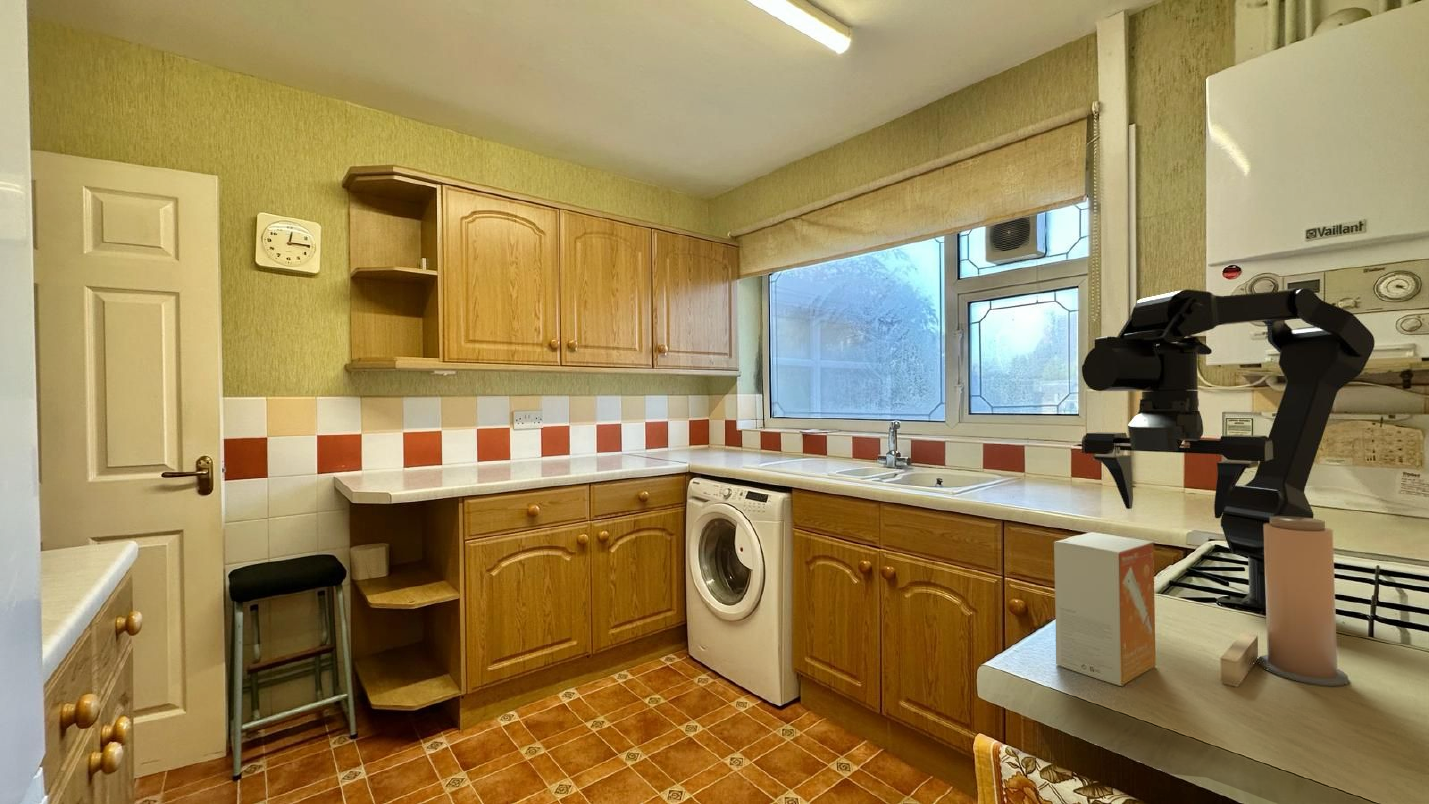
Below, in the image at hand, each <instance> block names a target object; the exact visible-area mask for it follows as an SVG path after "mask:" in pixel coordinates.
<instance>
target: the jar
mask: <svg viewBox="0 0 1429 804" xmlns="http://www.w3.org/2000/svg"><path fill="white" fill-rule="evenodd" d="M1263 530H1264V561H1265V592H1266V609H1265V616H1266V617H1265V618H1266V619H1265V620H1266V622H1265V623H1266V646H1267V647H1266V651H1267V654H1266V655H1268V662H1269V663H1270V664H1271V665H1273V666H1275V667H1277V668H1279V669H1282V670H1284V671H1287V672H1291V673H1294V674H1298V675H1303V676H1308V677H1315V678H1334V677H1336V676H1337V675H1338V672H1337V669H1338V653H1337V652H1338V648H1337V646H1338V645H1337V623H1336V621H1337V620H1336V618H1337V615H1336V613H1337V612H1336V589H1335V588H1336V587H1335V563H1334V562H1335V561H1334V560H1335V558H1334V557H1335V556H1334V534H1333V533H1334V532H1333V530H1332V529H1331V528H1328V527H1326V520H1322V519H1318V518H1314V517H1313V518H1305V517H1294V516H1271V517H1270V523H1265V524H1263Z"/></svg>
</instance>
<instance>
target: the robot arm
mask: <svg viewBox="0 0 1429 804" xmlns="http://www.w3.org/2000/svg"><path fill="white" fill-rule="evenodd" d="M1296 319H1300V320H1302V321H1303V322H1304V323H1305V324H1308V325H1311V326H1305V327H1297V328H1295V329H1293V328H1291V327H1290V326H1289V325H1288V324H1287V322H1286V321H1288V320H1296ZM1255 322H1256V323H1257V322H1263V324H1264V325H1266V327H1267V328H1266V330H1267V341H1268V343H1269V344H1270V345H1271V346H1272V347H1273V348H1274V349H1275V350H1276V351H1277V352H1278V353H1280V354H1279V358H1278V366H1279V368H1280V370H1281V372H1282V374H1283V376H1284V378H1285V381H1286V383H1285V384H1286V385H1285V388H1284V391H1283V394H1282V397H1281V400H1280V402H1279V405H1278V408H1277V411H1276V413H1275V417H1274V420H1273V423H1272V424H1271V428H1270V431H1269V434H1268V436H1267V435H1260V434H1259V435H1253V434H1249V435H1248V434H1245V435H1244V434H1227V435H1226V434H1225V435H1221V436H1220V439H1201V438H1202V436H1203V434H1204V423H1203V418H1202V415H1201V412H1200V410H1199V407H1200V406H1199V405H1200V404H1199V403H1200V401H1199V387H1198V386H1199V384H1198V382H1199V381H1198V379H1199V378H1198V356H1207V355H1210V354H1212V353H1213V350H1212V348H1210V347H1209V346H1208V345H1206V344H1205V343H1203V342H1201V340H1199V337H1197V336H1195V335H1197V334H1201V333H1204V332H1207V331H1210V330H1214V329H1215V328H1217V327H1218V326H1225V325H1236V324H1246V323H1247V324H1248V323H1255ZM1372 333H1373V332H1371V331H1370V330H1369V328H1368V327H1366V326H1365V324H1363V322H1361V321H1360V319H1358V318H1357V316H1356V315H1355V314H1354V313H1352V312H1350V311H1349V310H1346V309H1343V308H1341V307H1338V306H1336V305H1334V304H1332V303H1329V302H1327V301H1324V300H1322V299H1321V298H1320V297H1318V295H1317V294H1316V293H1315V292H1314V291H1313V290H1311V289H1309V288H1305V287H1304V288H1303V287H1294V288H1293V287H1292V288H1288V289H1283V290H1277V291H1266V292H1255V293H1253V292H1252V293H1243V294H1232V295H1231V294H1229V295H1216V294H1213V293H1212V292H1211V291H1208V290H1207V291H1206V290H1199V289H1198V290H1197V289H1191V288H1190V289H1189V288H1188V289H1187V288H1186V289H1182V290H1176V291H1173V292H1168V293H1163V294H1158V295H1153V296H1150V297H1145V298H1141V299H1139V300H1137V301H1136V303H1135V305H1134V306H1133V308H1132V312H1131V314H1130V316H1129V318H1128V319H1127V320H1126V322H1125V324H1124V325H1123V327H1122V328H1121V330H1120V332H1118V334H1117V336H1103V337H1096V338H1094V348H1092V349H1091V350H1090V351H1089V352H1088V353H1087V355H1086V357H1085V359H1084V361H1083V364H1082V365H1081V376H1082V379H1083V381H1084V383H1085V385H1086V386H1088V387H1089V388H1090V389H1092V390H1093V391H1096V392H1139V391H1140V392H1141V398H1140V399H1139V404H1138V405H1139V407H1138V408H1139V409H1138V413H1137V414H1136V415H1134V417H1133V418H1132V419H1131V421H1130V422H1129V423H1128V424H1127V427H1128V435H1129V437H1128V435H1127V432H1112V431H1109V432H1108V431H1107V432H1106V431H1100V432H1099V431H1095V432H1087V433H1085V434H1084V435H1083V437H1082V440H1081V453H1082V454H1089V455H1091V454H1093V455H1092V458H1093V460H1094V461H1099V462H1101V463H1102V464H1103V465H1104V466H1105V468H1107V470H1108V471H1109V473H1110V475H1111V476H1112V478H1113V480H1114V482H1115V485H1116V487H1117V490H1118V493H1119V495H1120V496H1121V499H1122V502H1123V504H1124V506H1125V509H1126V510H1127V509H1128V510H1131V509H1132V508H1133V502H1134V488H1133V471H1132V470H1133V468H1132V455H1130V454H1125V452H1128V451H1130V452H1133V451H1134V452H1150V453H1151V452H1152V453H1153V452H1155V453H1176V454H1177V453H1178V454H1179V453H1181V454H1202V455H1203V454H1204V455H1210V454H1211V455H1221V458H1223V460H1222V461H1218V462H1216V471H1217V479H1216V484H1215V485H1216V486H1215V487H1216V488H1215V494H1214V504H1213V510H1214V519H1220V527H1221V530H1222V533H1223V535H1224V537H1225V540H1226V542H1227V547H1228V549H1229V552H1230V553H1231V554H1233V555H1241V556H1246V557H1247V559H1248V560H1247V562H1248V564H1247V565H1248V591H1249V593H1247V595H1246V596H1245V597H1244V598H1242V600H1241V605H1243V606H1246V607H1247V606H1248V607H1252V608H1256V609H1257V608H1258V609H1262V610H1266V592H1265V561H1264V530H1263V524H1265V523H1270V517H1271V516H1294V517H1305V518H1313V519H1314V512H1313V510H1312V507H1311V505H1310V502H1309V500H1308V498H1307V496H1306V493H1305V489H1306V486H1307V483H1308V481H1309V477H1310V474H1311V472H1312V471H1311V470H1312V468H1313V465H1314V462H1315V461H1316V460H1315V459H1316V457H1317V453H1318V450H1319V447H1320V444H1321V441H1322V440H1323V439H1322V438H1323V435H1324V432H1325V429H1326V427H1327V423H1328V421H1329V419H1330V415H1331V412H1332V409H1333V406H1334V403H1335V400H1336V398H1337V394H1338V392H1339V391H1340V390H1341V389H1342V388H1343V387H1345V386H1346V385H1348V384H1349V383H1350V382H1351V381H1353V380H1354V379H1355V378H1357V377H1358V376H1359V375H1361V374H1362V372H1363V371H1364V369H1365V367H1366V365H1367V363H1368V361H1369V360H1370V357H1371V356H1372V354H1373V351H1374V349H1375V343H1376V342H1375V338H1374V335H1373V334H1372ZM1187 336H1188V337H1187ZM1189 336H1191V337H1189ZM1183 442H1185V443H1183ZM1256 467H1257V469H1256V471H1255V474H1254V477H1253V479H1252V480H1250V481H1248V482H1247V483H1246V484H1245V485H1239V484H1237V483H1238V482H1239V480H1240V478H1241V477H1242V475H1243V474H1244V472H1245V471H1246V470H1247V469H1252V468H1256ZM1236 484H1237V485H1236Z"/></svg>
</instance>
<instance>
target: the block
mask: <svg viewBox="0 0 1429 804" xmlns="http://www.w3.org/2000/svg"><path fill="white" fill-rule="evenodd" d="M1257 657H1258V658H1259V636H1258V635H1257V634H1252V633H1249V632H1244V631H1243V632H1242V633H1240V635H1239V636H1238V637H1237V638H1236V639H1235V640H1234V642H1233V643H1232V644H1231V645H1230V646H1229V647H1228V649H1227V650H1226V651H1225V652H1224V653H1223V654H1222V655H1221V657H1220V680H1221V681H1220V683H1221V684H1225V685H1228V686H1233V687H1236V688H1239V686H1240V685H1241V683H1242V681H1243V680H1244V679H1245V677H1247V675H1248V674H1249V672H1250V671H1251V669H1252V668H1251V666H1252V665H1253V663H1254V662H1255V661H1256V659H1257ZM1257 660H1258V659H1257ZM1256 662H1257V661H1256ZM1256 662H1255V663H1256ZM1255 663H1254V664H1255ZM1253 666H1254V665H1253ZM1253 666H1252V667H1253ZM1250 668H1251V669H1250ZM1248 671H1249V672H1248Z"/></svg>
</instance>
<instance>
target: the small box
mask: <svg viewBox="0 0 1429 804" xmlns="http://www.w3.org/2000/svg"><path fill="white" fill-rule="evenodd" d="M1154 544H1155V542H1153V541H1150V540H1149V541H1148V540H1144V539H1143V540H1142V539H1137V538H1131V537H1125V536H1120V535H1119V536H1118V535H1113V534H1107V533H1106V534H1105V533H1100V532H1096V531H1095V532H1094V531H1090V532H1087V533H1083V534H1079V535H1073V536H1069V537H1067V538H1064V539H1059V540H1055V541H1053V551H1054V552H1053V557H1054V559H1053V561H1054V563H1053V565H1054V566H1053V567H1054V603H1055V605H1054V606H1055V608H1054V609H1055V610H1054V611H1055V612H1054V613H1055V615H1054V616H1055V664H1056V665H1057V666H1059V667H1062V668H1065V669H1068V670H1070V671H1073V672H1076V673H1080V674H1082V675H1085V676H1089V677H1091V678H1094V679H1098V680H1100V681H1103V682H1107V683H1110V684H1113V685H1116V686H1120V687H1123V686H1124V685H1126V684H1127V683H1128V682H1130V681H1131V680H1133V679H1135V678H1137V677H1139V676H1140V675H1142V674H1144V673H1146V672H1147V671H1149V670H1151V669H1154V668H1155V667H1156V666H1157V665H1156V664H1157V663H1156V659H1157V658H1156V617H1155V616H1156V613H1155V612H1156V611H1155V610H1156V609H1155V605H1156V604H1155V561H1154V560H1155V554H1154V550H1155V549H1154V546H1155V545H1154Z"/></svg>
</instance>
